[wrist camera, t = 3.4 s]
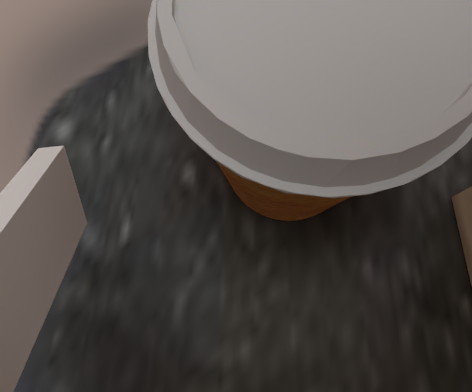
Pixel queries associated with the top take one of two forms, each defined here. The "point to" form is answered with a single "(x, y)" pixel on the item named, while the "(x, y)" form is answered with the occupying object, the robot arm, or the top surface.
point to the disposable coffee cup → (316, 92)
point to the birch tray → (465, 224)
